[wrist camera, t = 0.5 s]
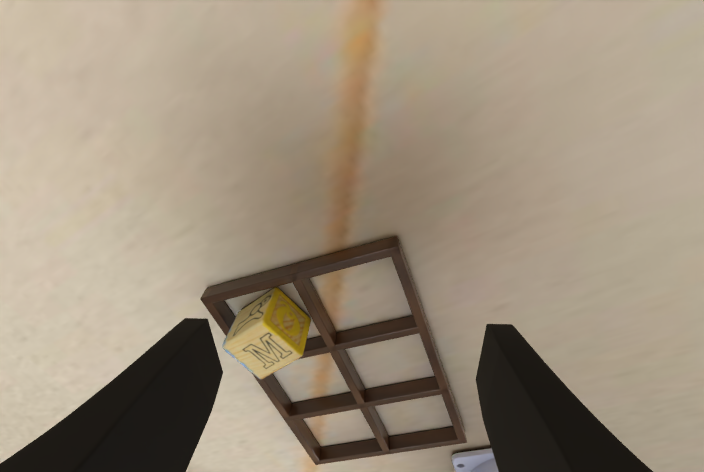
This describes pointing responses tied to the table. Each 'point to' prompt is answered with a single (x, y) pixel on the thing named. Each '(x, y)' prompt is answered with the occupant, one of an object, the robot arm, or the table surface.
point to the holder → (337, 346)
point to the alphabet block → (268, 334)
